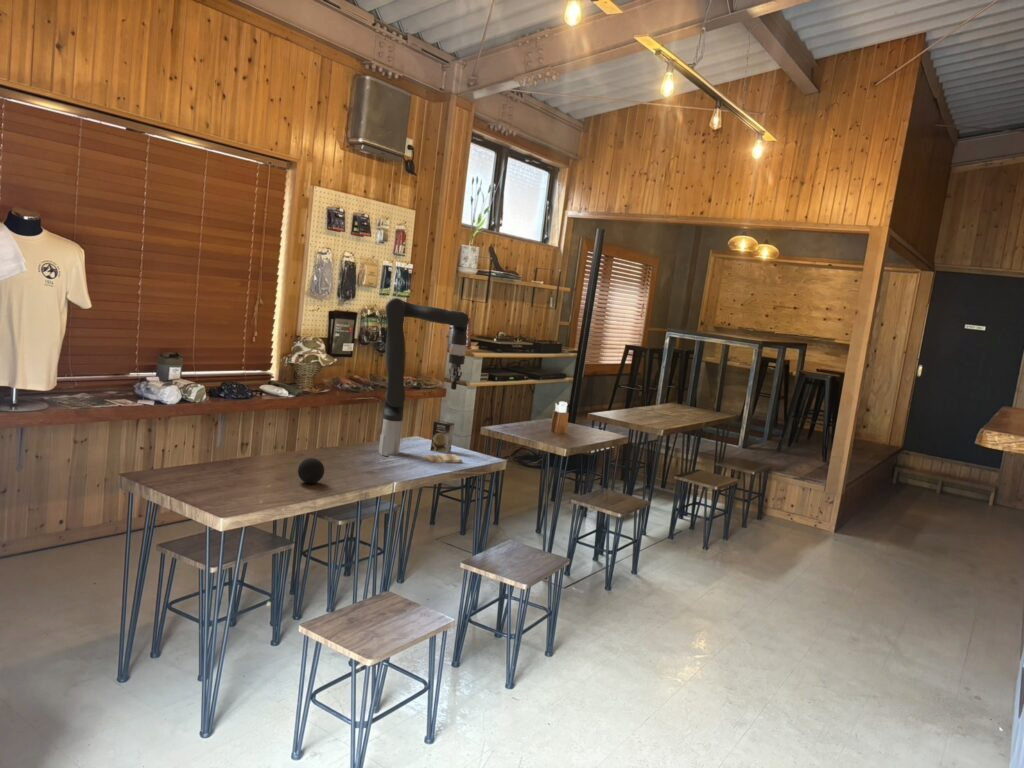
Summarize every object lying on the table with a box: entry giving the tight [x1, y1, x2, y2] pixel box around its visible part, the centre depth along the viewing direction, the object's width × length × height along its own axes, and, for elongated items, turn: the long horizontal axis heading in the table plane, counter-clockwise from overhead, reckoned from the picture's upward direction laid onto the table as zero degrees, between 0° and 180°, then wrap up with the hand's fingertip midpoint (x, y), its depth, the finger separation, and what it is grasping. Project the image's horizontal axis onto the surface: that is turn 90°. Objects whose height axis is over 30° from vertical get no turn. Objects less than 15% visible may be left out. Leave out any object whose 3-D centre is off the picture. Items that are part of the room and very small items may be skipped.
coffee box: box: [430, 420, 455, 455], centre depth 368 cm, size 9×6×16 cm
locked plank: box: [424, 454, 444, 464], centre depth 347 cm, size 6×11×1 cm, turn 24°
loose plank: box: [436, 453, 463, 464], centre depth 350 cm, size 9×11×1 cm
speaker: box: [297, 457, 325, 485], centre depth 285 cm, size 10×10×10 cm
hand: (453, 389), depth 351 cm, fingers closed
